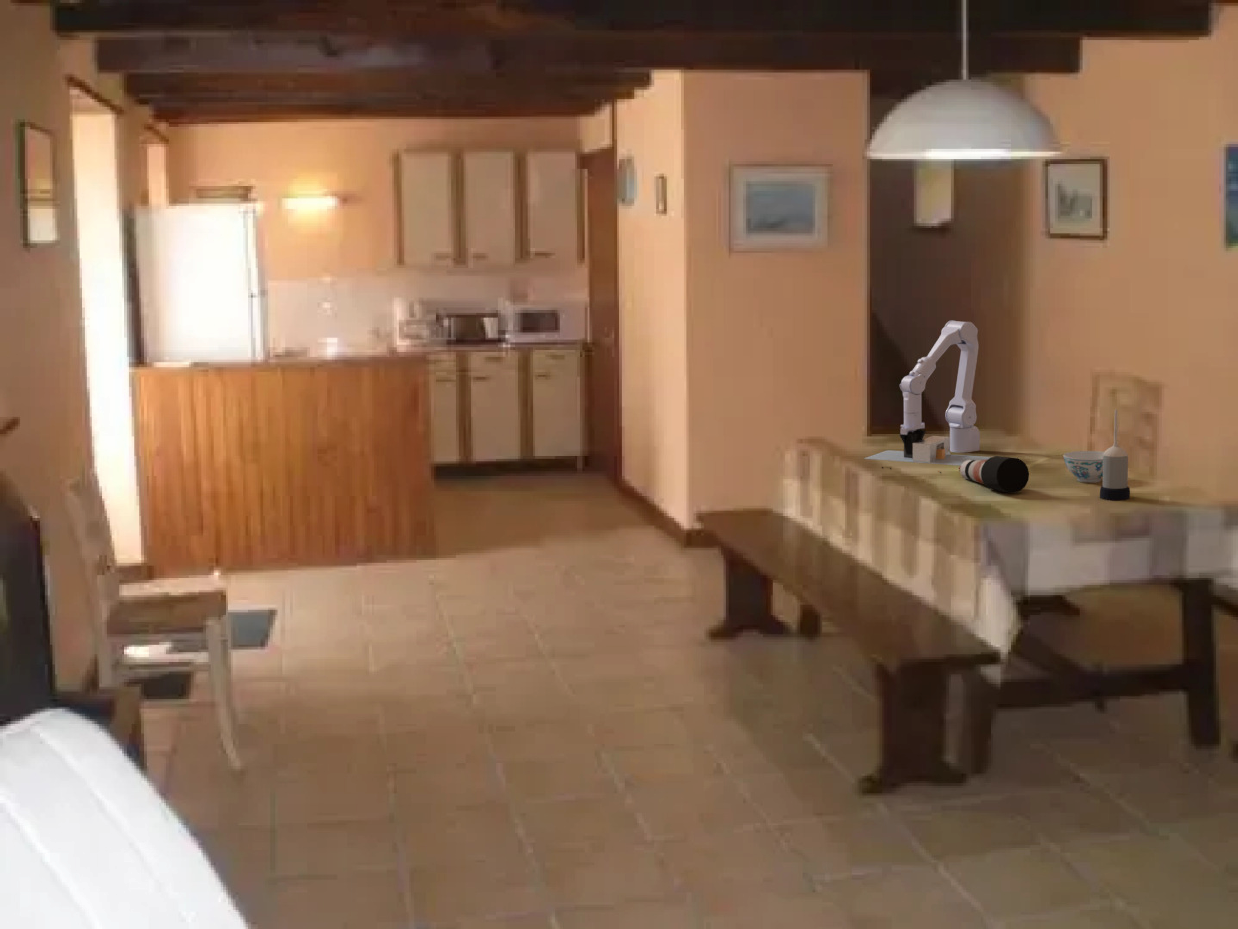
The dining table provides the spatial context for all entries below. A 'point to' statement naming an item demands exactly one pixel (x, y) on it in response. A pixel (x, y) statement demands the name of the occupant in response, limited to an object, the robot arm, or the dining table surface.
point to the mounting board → (947, 460)
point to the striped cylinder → (997, 473)
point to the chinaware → (1085, 465)
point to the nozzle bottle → (1115, 471)
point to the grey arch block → (930, 448)
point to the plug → (939, 454)
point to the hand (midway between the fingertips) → (912, 453)
